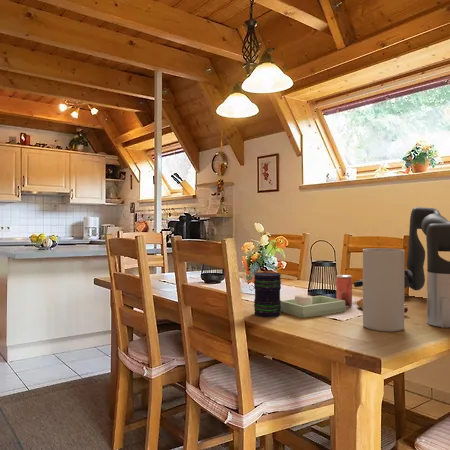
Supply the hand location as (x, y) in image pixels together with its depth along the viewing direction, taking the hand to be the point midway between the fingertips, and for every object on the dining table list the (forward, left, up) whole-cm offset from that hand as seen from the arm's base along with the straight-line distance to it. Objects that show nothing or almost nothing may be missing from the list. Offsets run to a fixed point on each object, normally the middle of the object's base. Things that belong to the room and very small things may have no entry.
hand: (362, 285), depth 179 cm
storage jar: (-17, +44, -7) cm, 47 cm away
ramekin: (-15, +30, -6) cm, 34 cm away
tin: (-4, +10, -7) cm, 13 cm away
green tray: (-14, +26, -7) cm, 30 cm away
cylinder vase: (-40, +11, -7) cm, 42 cm away
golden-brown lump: (-17, 0, -8) cm, 18 cm away
